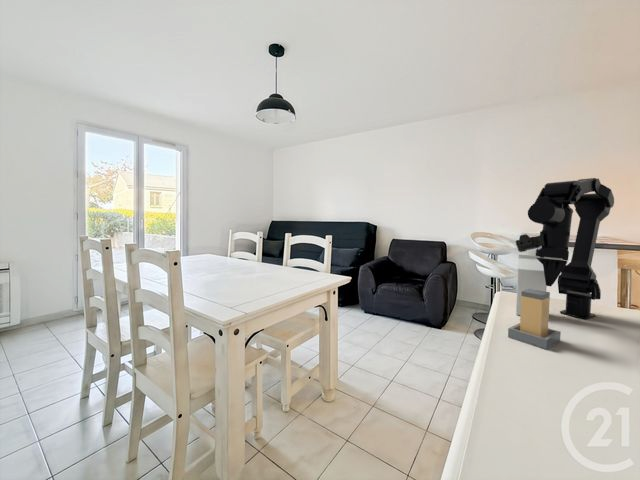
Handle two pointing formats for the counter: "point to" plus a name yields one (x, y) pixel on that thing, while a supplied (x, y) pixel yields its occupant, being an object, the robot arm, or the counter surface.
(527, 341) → the socket collar
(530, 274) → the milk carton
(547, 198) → the robot arm
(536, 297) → the plug
